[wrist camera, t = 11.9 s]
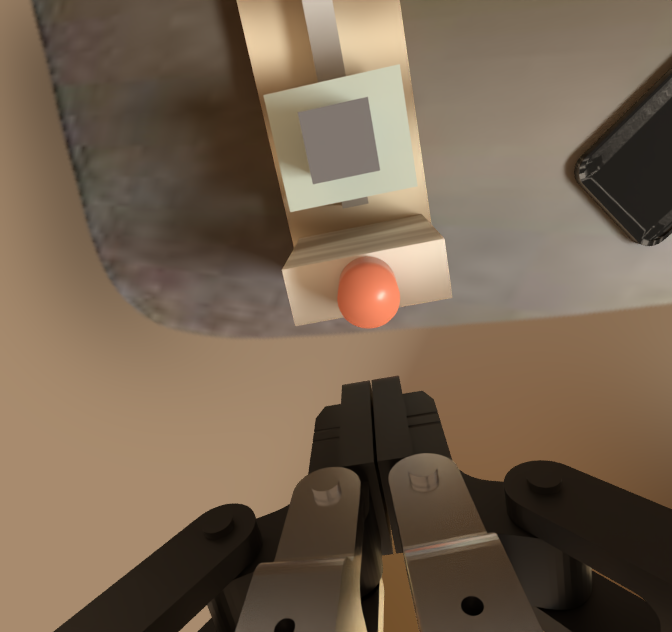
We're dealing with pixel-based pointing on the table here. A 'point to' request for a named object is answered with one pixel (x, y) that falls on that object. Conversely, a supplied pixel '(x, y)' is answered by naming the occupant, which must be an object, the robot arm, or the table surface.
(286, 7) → the rail base
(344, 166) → the block
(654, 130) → the phone
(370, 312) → the button
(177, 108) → the table surface
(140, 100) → the table surface
